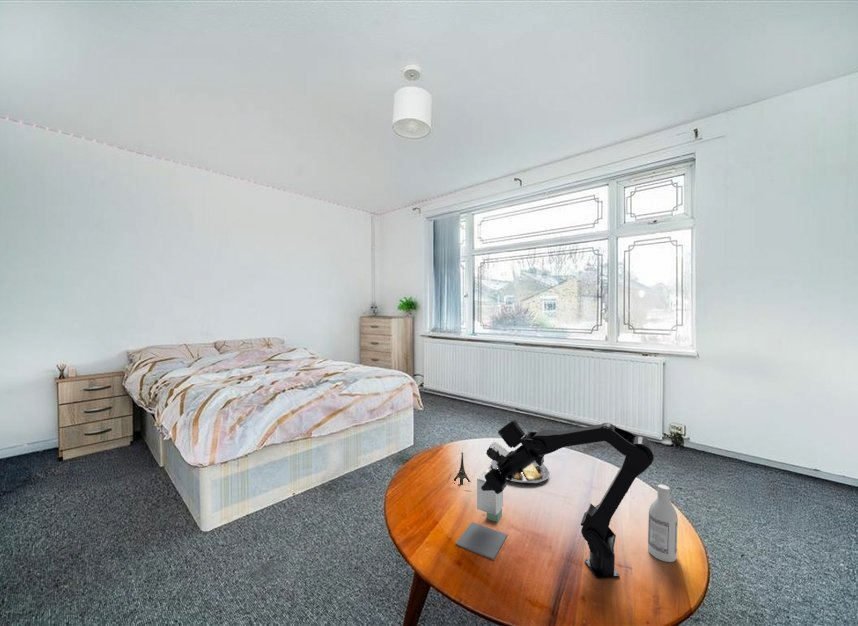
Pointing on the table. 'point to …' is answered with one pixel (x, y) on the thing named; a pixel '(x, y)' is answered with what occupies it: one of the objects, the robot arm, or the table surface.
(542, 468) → the food plate
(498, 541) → the rubber mat
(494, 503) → the silver grey block
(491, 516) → the pale green block
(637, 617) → the table surface
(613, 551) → the robot arm
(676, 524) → the bath foam
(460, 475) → the eiffel tower figurine
